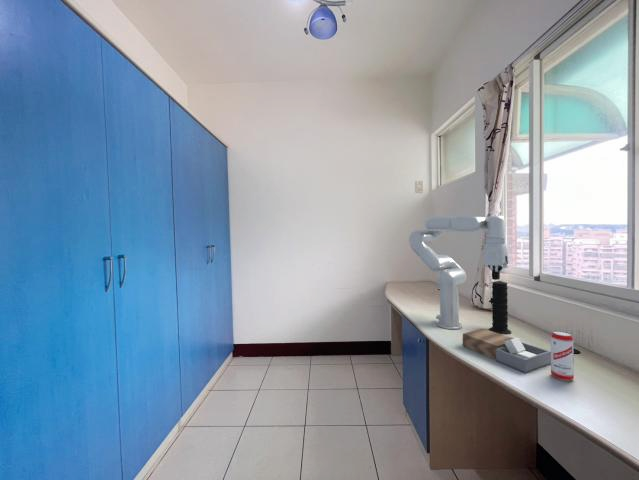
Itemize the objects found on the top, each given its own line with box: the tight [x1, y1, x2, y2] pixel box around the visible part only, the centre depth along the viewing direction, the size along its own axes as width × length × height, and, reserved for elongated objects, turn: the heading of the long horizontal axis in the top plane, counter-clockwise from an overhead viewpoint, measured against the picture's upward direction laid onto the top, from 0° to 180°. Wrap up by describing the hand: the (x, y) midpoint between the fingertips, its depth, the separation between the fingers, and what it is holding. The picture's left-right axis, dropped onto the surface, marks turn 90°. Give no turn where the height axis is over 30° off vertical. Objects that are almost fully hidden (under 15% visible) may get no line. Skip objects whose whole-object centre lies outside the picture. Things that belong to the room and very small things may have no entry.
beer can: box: [550, 330, 575, 382], centre depth 102 cm, size 6×6×16 cm
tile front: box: [516, 351, 536, 359], centre depth 112 cm, size 5×5×4 cm
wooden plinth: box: [462, 328, 515, 361], centre depth 126 cm, size 16×14×6 cm
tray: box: [495, 341, 551, 374], centre depth 114 cm, size 11×16×5 cm
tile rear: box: [504, 337, 526, 354], centre depth 117 cm, size 5×5×4 cm
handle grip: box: [488, 280, 512, 335], centre depth 149 cm, size 10×26×10 cm
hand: (495, 279), depth 138 cm, fingers closed
